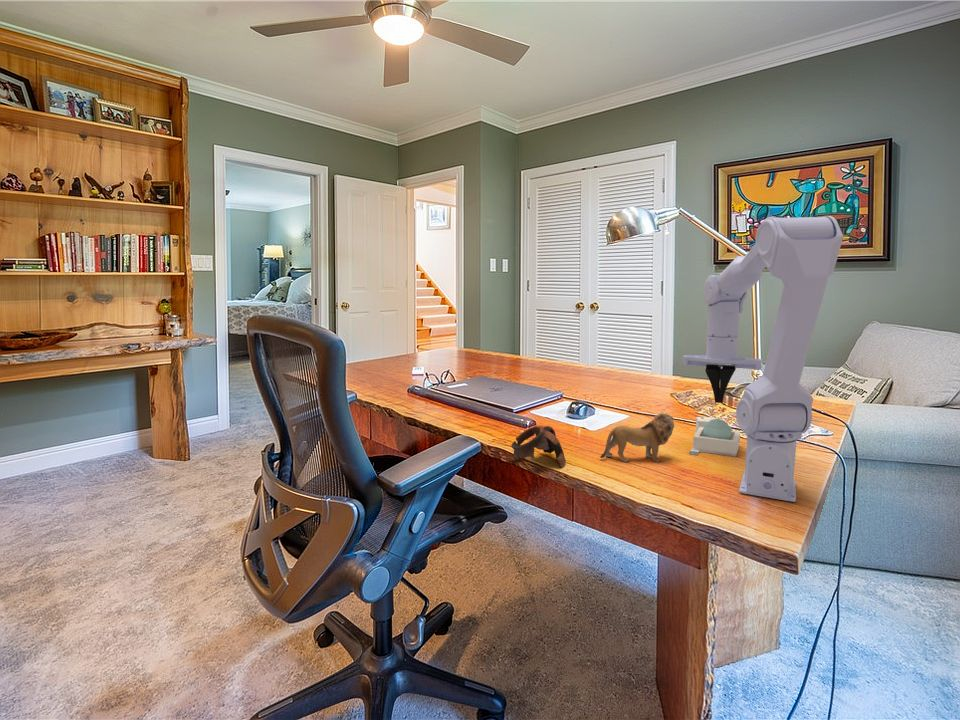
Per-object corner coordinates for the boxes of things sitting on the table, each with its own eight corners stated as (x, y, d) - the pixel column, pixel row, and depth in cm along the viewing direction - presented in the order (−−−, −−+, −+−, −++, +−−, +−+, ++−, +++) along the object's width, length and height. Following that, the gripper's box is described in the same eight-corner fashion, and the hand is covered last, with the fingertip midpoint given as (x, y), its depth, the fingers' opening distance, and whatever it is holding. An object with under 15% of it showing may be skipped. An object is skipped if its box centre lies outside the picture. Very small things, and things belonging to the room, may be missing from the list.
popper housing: (736, 456, 103) (736, 442, 102) (692, 450, 107) (693, 436, 106) (739, 445, 109) (740, 431, 109) (698, 440, 114) (699, 426, 113)
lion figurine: (665, 452, 106) (667, 409, 105) (678, 461, 101) (680, 416, 99) (595, 456, 105) (596, 412, 103) (604, 465, 99) (605, 419, 98)
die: (717, 439, 114) (718, 421, 113) (697, 438, 115) (698, 420, 114) (714, 434, 118) (715, 416, 117) (695, 433, 119) (696, 415, 118)
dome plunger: (729, 448, 104) (730, 423, 104) (701, 444, 107) (702, 420, 106) (731, 441, 109) (733, 417, 108) (705, 437, 111) (706, 414, 111)
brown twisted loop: (564, 476, 95) (542, 440, 94) (522, 490, 100) (500, 455, 99) (576, 442, 106) (556, 409, 104) (537, 455, 110) (517, 424, 109)
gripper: (764, 335, 104) (760, 401, 106) (687, 332, 112) (684, 394, 114) (762, 338, 98) (758, 408, 100) (681, 336, 106) (679, 401, 108)
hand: (718, 401), depth 107 cm, fingers closed
